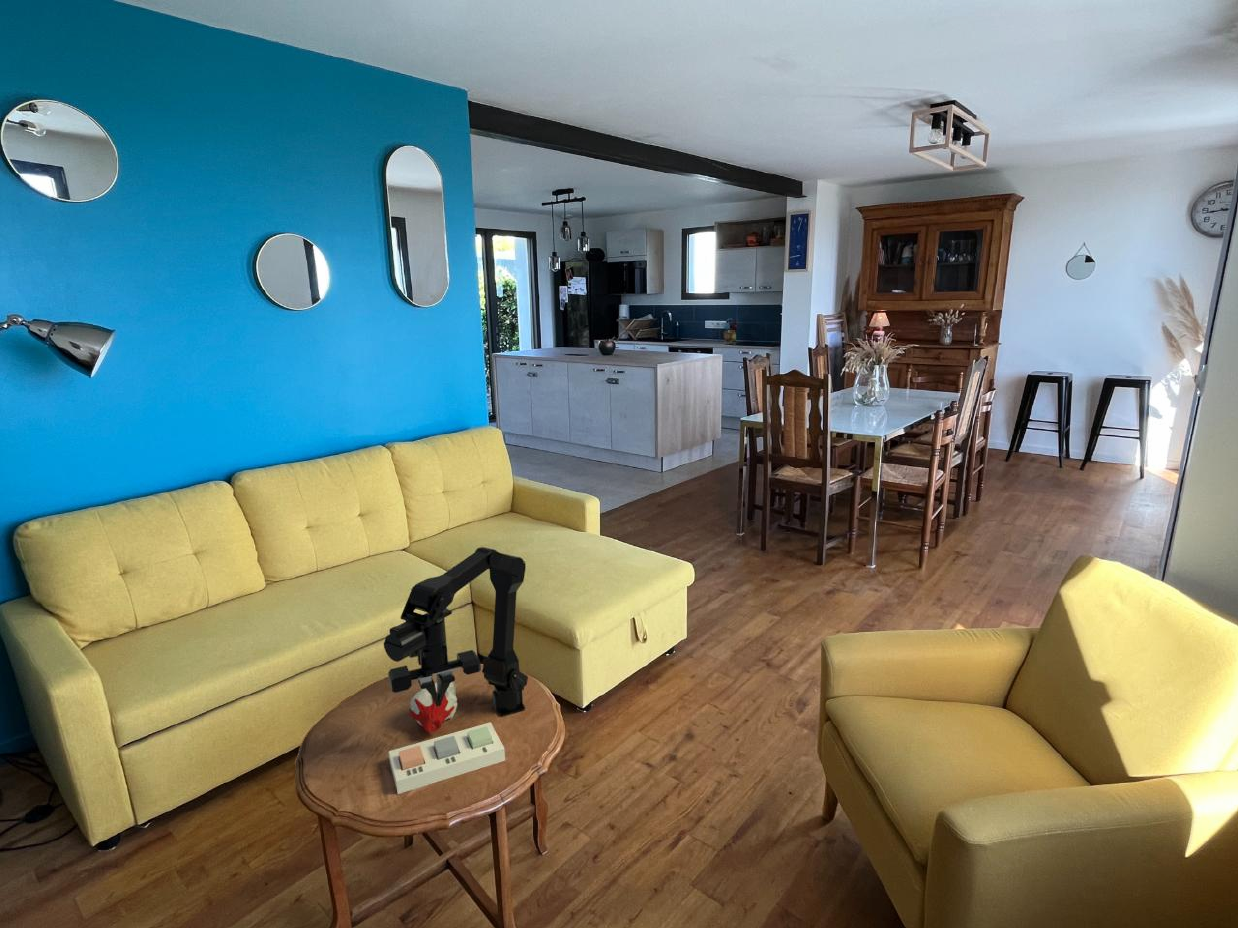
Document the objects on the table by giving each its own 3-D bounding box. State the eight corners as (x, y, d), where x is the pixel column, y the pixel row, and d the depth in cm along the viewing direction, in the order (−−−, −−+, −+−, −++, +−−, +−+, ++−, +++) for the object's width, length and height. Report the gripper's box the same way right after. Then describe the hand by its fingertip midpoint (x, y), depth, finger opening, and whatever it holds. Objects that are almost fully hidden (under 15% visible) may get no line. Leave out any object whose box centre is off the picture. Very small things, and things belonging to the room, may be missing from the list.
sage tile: (487, 734, 157) (486, 726, 157) (492, 745, 153) (491, 736, 153) (468, 740, 155) (467, 731, 155) (473, 751, 152) (472, 742, 151)
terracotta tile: (420, 754, 151) (419, 745, 150) (424, 765, 147) (423, 756, 147) (399, 760, 149) (398, 751, 148) (403, 772, 145) (402, 763, 145)
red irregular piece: (456, 699, 175) (461, 740, 161) (410, 706, 172) (411, 749, 158) (454, 669, 172) (458, 709, 158) (407, 676, 169) (407, 717, 155)
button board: (491, 733, 161) (490, 721, 161) (505, 760, 152) (504, 747, 151) (389, 763, 152) (388, 750, 151) (397, 793, 142) (396, 780, 141)
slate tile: (454, 744, 154) (453, 735, 154) (459, 755, 150) (458, 746, 150) (434, 749, 152) (433, 741, 152) (438, 761, 148) (438, 752, 148)
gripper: (466, 616, 157) (471, 677, 161) (381, 634, 149) (388, 698, 153) (479, 636, 148) (483, 701, 151) (389, 657, 140) (396, 724, 143)
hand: (438, 705), depth 150 cm, fingers closed
